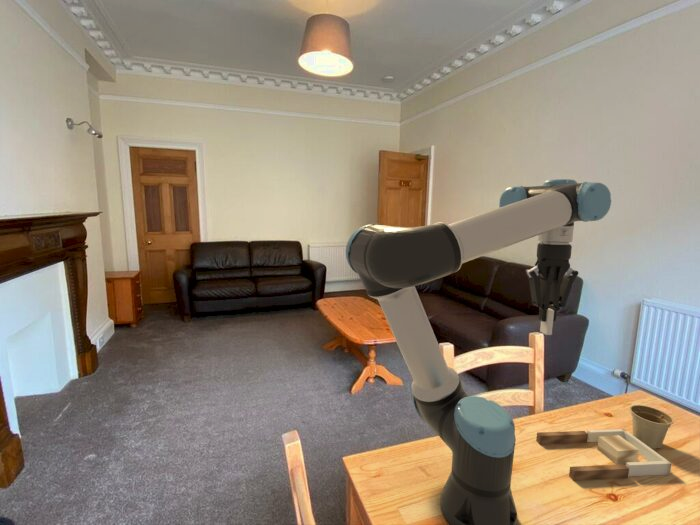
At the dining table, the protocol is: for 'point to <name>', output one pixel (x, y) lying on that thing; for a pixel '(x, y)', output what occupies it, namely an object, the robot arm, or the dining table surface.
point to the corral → (655, 461)
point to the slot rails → (583, 471)
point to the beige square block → (617, 449)
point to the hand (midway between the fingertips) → (545, 333)
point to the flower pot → (650, 425)
